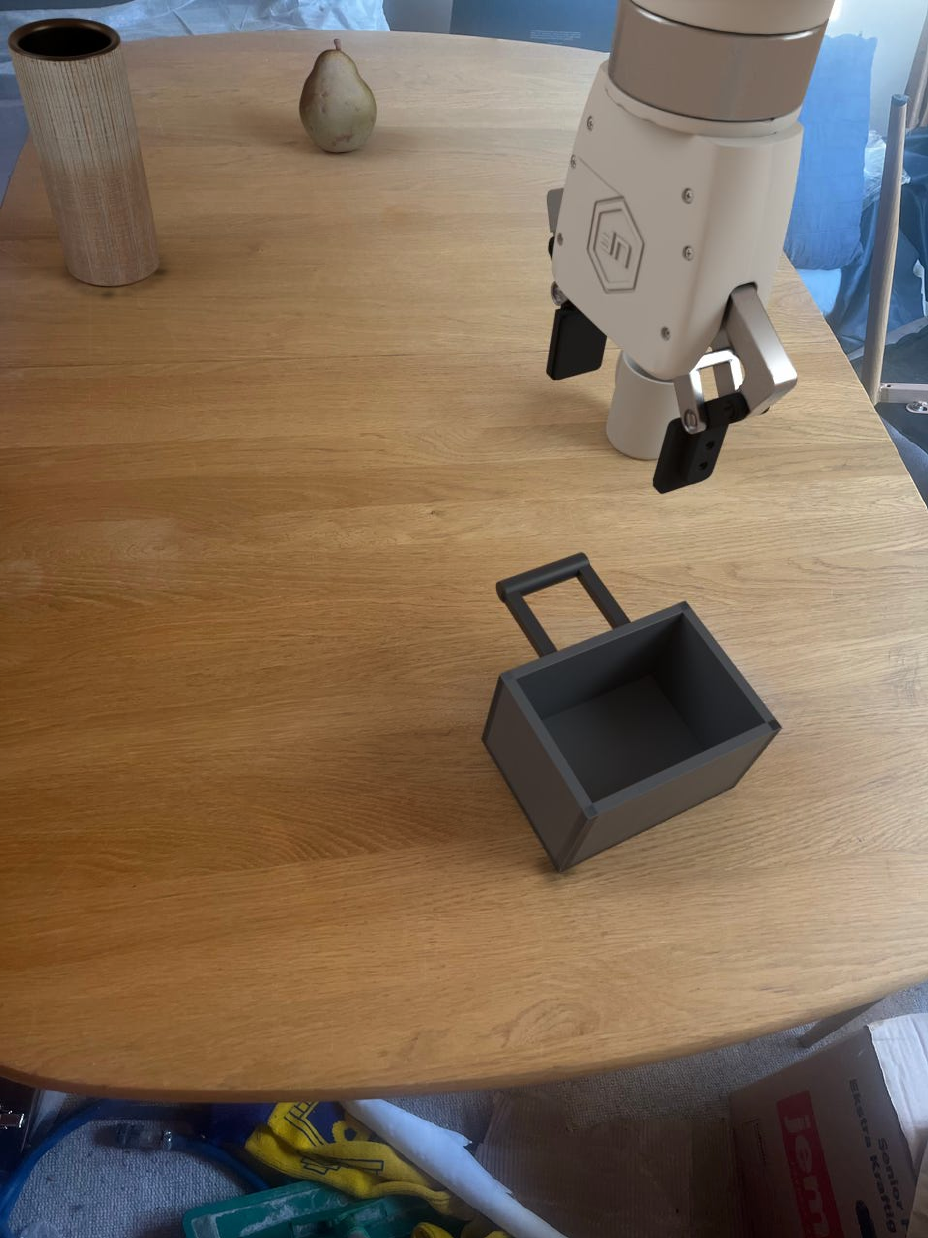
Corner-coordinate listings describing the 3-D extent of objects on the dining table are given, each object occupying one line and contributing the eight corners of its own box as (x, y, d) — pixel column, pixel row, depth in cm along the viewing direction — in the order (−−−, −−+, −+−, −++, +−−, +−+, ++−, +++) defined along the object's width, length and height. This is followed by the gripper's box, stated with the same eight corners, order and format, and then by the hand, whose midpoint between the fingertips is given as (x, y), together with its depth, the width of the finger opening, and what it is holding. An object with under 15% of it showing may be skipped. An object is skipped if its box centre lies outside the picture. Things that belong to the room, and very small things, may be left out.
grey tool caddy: (734, 787, 69) (782, 727, 62) (558, 874, 64) (588, 819, 56) (600, 597, 78) (628, 525, 70) (435, 660, 72) (447, 589, 65)
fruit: (360, 125, 133) (359, 28, 123) (391, 154, 128) (392, 56, 118) (291, 136, 129) (285, 38, 120) (320, 167, 124) (316, 67, 115)
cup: (625, 468, 90) (646, 390, 84) (580, 404, 96) (595, 326, 89) (691, 454, 93) (716, 377, 86) (643, 392, 98) (663, 315, 91)
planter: (101, 231, 110) (50, 8, 93) (178, 253, 109) (141, 30, 91) (47, 273, 104) (-18, 43, 87) (128, 297, 102) (78, 66, 85)
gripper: (509, -11, 39) (478, 350, 52) (785, 169, 30) (663, 557, 43) (658, -26, 42) (593, 321, 55) (955, 135, 32) (792, 510, 45)
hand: (624, 424), depth 49 cm, fingers open, 9 cm apart
